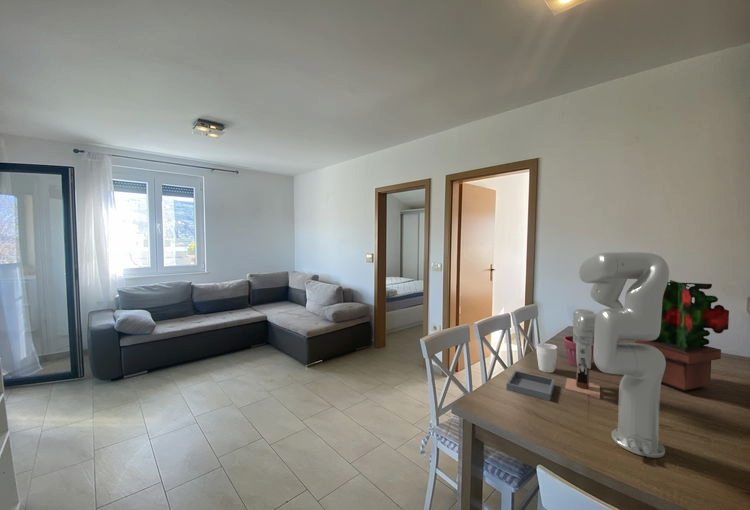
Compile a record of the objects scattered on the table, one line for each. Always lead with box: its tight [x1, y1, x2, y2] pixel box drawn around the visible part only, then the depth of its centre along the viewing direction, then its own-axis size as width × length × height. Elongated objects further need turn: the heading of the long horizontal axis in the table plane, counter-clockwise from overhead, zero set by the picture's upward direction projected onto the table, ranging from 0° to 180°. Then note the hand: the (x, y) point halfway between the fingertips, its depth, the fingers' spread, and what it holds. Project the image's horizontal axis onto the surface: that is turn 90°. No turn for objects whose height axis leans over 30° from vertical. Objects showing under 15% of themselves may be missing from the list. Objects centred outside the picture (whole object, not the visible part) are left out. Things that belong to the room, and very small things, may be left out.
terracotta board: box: [564, 377, 601, 400], centre depth 130 cm, size 12×12×1 cm
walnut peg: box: [575, 366, 590, 389], centre depth 130 cm, size 4×4×8 cm
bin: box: [506, 370, 555, 402], centre depth 130 cm, size 16×16×4 cm
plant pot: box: [563, 335, 594, 368], centre depth 155 cm, size 14×14×13 cm
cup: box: [536, 342, 558, 373], centre depth 149 cm, size 9×9×12 cm
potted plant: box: [634, 279, 730, 392], centre depth 133 cm, size 22×22×45 cm
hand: (582, 378), depth 130 cm, fingers open, 9 cm apart
